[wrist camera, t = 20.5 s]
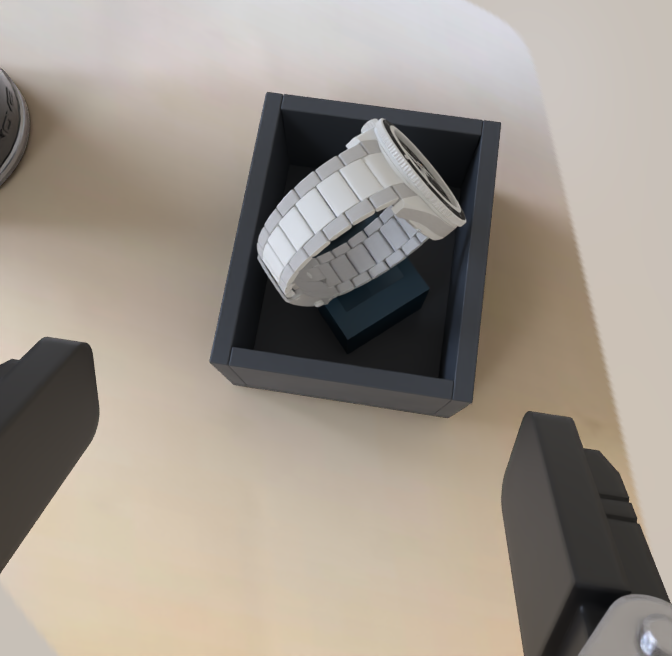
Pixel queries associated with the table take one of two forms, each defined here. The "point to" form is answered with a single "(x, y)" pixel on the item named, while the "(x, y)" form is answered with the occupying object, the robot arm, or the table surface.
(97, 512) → the table surface
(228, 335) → the box
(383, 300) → the watch
